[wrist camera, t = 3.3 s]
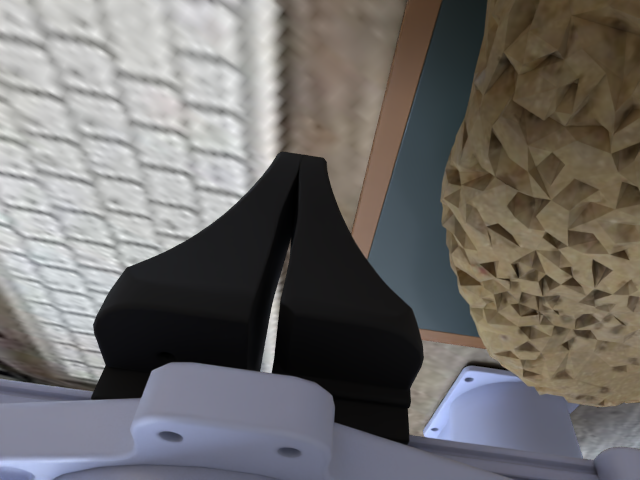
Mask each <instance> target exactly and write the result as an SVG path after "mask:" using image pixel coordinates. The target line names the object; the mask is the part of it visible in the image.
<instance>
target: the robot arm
mask: <svg viewBox="0 0 640 480" xmlns="http://www.w3.org/2000/svg"><path fill="white" fill-rule="evenodd" d="M290 240H291V250H290V260H289V265H288V270H287V274H286V279H285V283H284V288H283V292H282V297H281V301H280V310H279V320H278V329H277V338H276V347H275V356H274V363H273V369H272V373H265V372H260V369H261V363H262V357H263V352H264V346H265V340H266V335H267V329H268V324H269V318H270V313H271V307H272V303H273V299H274V295H275V291H276V288H277V285H278V281H279V278H280V274H281V271H282V267H283V264H284V261H285V257H286V254H287V250H288V247H289V243H290ZM93 327H94V334H95V337H96V340H97V342H98V345H99V348H100V351H101V353H102V356H103V359H104V362H105V364H106V366H105V368H104V370H103V373H102V375H101V377H100V379H99V381H98V383H97V385H96V388H95V390H94V392H92V391H84V390H77V389H70V388H62V387H55V386H48V385H41V384H33V383H26V382H19V381H11V380H4V379H0V480H640V449H636V448H629V447H614V448H609V449H606V450H604V451H603V452H601V453H600V454H599V455H598V456H597V457H596V458H595V459H594V460H588V459H583V456H582V453H581V450H580V446H579V443H578V440H577V437H576V434H575V431H574V428H573V424H572V421H571V418H570V415H569V414H570V413H571V412H572V411H574V410H575V409H576V408H577V407H578V406H579V405H580V404H574V403H568V401H566V399H565V398H564V397H562V396H556V395H550V394H543V395H539V393H538V392H537V391H536V389H535V387H530V386H527V385H526V384H525V383H524V382H523V381H522V380H521V379H520V378H519V377H518V376H517V375H515V374H514V373H512V372H511V371H508V370H501V369H494V368H487V367H480V366H467V367H465V368H464V369H463V370H462V372H461V373H460V375H459V376H458V378H457V379H456V381H455V382H454V384H453V385H452V387H451V388H450V390H449V392H448V393H447V395H446V396H445V398H444V399H443V401H442V402H441V404H440V405H439V407H438V408H437V410H436V412H435V413H434V415H433V416H432V418H431V419H430V421H429V422H428V424H427V425H426V427H425V428H424V430H423V433H424V436H425V437H420V436H413V435H409V423H408V408H409V407H410V404H411V397H410V387H411V385H412V383H413V382H414V380H415V378H416V376H417V374H418V372H419V370H420V368H421V366H422V363H423V359H424V356H423V345H422V340H421V335H420V331H419V328H418V324H417V321H416V318H415V315H414V312H413V309H412V308H411V307H410V306H409V305H408V304H407V303H405V302H404V301H403V300H402V299H401V298H400V297H399V296H398V295H397V294H396V293H395V292H394V291H393V290H392V289H391V288H390V287H389V286H388V285H387V284H386V283H385V282H384V281H383V280H382V278H381V277H380V276H379V275H378V273H377V272H376V271H375V269H374V268H373V267H372V266H371V264H370V263H369V262H368V260H367V259H366V258H365V256H364V255H363V253H362V252H361V250H360V248H359V247H358V245H357V244H356V242H355V240H354V239H353V237H352V235H351V233H350V231H349V230H348V228H347V226H346V224H345V221H344V219H343V217H342V215H341V213H340V210H339V208H338V205H337V202H336V200H335V197H334V194H333V191H332V188H331V185H330V181H329V177H328V172H327V162H326V161H325V159H324V158H321V157H314V156H308V155H301V154H295V153H288V152H280V153H279V154H277V156H276V158H275V159H274V161H273V162H272V164H271V165H270V167H269V168H268V169H267V171H266V172H265V173H264V174H263V176H262V177H261V178H260V179H259V180H258V181H257V182H256V184H255V185H254V186H253V187H252V188H251V189H250V190H249V191H248V192H247V193H246V194H245V195H244V196H243V197H242V198H241V199H240V200H239V201H238V202H237V203H236V204H235V205H234V206H233V207H232V208H231V209H230V210H228V211H227V212H226V213H225V214H224V215H222V216H221V217H220V218H219V219H217V220H216V221H215V222H213V223H212V224H211V225H209V226H208V227H206V228H205V229H204V230H202V231H201V232H199V233H198V234H196V235H195V236H193V237H191V238H190V239H188V240H186V241H185V242H183V243H181V244H179V245H177V246H175V247H174V248H172V249H170V250H168V251H166V252H164V253H161V254H159V255H157V256H155V257H152V258H150V259H147V260H145V261H142V262H140V263H138V264H135V265H133V266H130V267H127V268H126V269H125V271H124V272H123V274H122V275H121V276H120V278H119V279H118V280H117V282H116V283H115V284H114V286H113V287H112V289H111V290H110V292H109V293H108V295H107V297H106V299H105V301H104V303H103V305H102V307H101V309H100V310H99V312H98V314H97V316H96V319H95V321H94V324H93Z"/></svg>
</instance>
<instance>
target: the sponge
mask: <svg viewBox="0 0 640 480" xmlns="http://www.w3.org/2000/svg"><path fill="white" fill-rule="evenodd" d="M440 202H442V206H443V212H442V220H441V223H442V226H443V227H444V228H446V245H447V247H448V249H449V257H450V266H451V268H452V270H453V271H454V273H455V274H456V276H457V283H458V289H459V293H460V294H461V295H462V297H463V298H464V299H465V300H466V301H467V303H468V304H469V306H470V314H471V316H472V318H473V320H474V322H475V324H476V328H477V331H478V334H479V336H480V338H481V339H482V342H483V344H484V346H485V347H486V348H487V351H488V353H489V355H490V357H491V358H493V359H495V360H497V361H499V362H500V364H501V366H502V367H504V368H506V369H508V370H509V371H511V372H512V373H514V374H515V375H517V376H518V377H519V378H520V379H521V380H522V381H523V382H524V383H525V384H526V385H527V386H530V387H535V389H536V391H537V392H538V393H539V395H543V394H550V395H556V396H562V397H564V398H565V399H566V401H568V403H574V404H581V405H589V406H596V407H610V406H617V405H619V404H622V403H624V402H625V403H638V402H640V0H488V1H487V10H486V20H485V30H484V37H483V41H482V45H481V49H480V53H479V57H478V61H477V65H476V69H475V73H474V78H473V83H472V88H471V94H470V98H469V102H468V106H467V110H466V114H465V118H464V120H463V122H462V124H461V126H460V128H459V130H458V133H457V135H456V139H455V143H454V145H453V147H452V149H451V152H450V155H449V158H448V161H447V165H446V168H445V172H444V177H443V181H442V191H441V199H440Z"/></svg>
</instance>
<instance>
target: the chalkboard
mask: <svg viewBox="0 0 640 480" xmlns="http://www.w3.org/2000/svg"><path fill="white" fill-rule="evenodd" d="M487 1H488V0H407V4H406V8H405V12H404V16H403V21H402V25H401V29H400V33H399V37H398V41H397V45H396V50H395V54H394V58H393V62H392V66H391V70H390V75H389V79H388V83H387V87H386V91H385V95H384V100H383V104H382V108H381V112H380V116H379V120H378V124H377V129H376V133H375V137H374V141H373V145H372V149H371V154H370V158H369V162H368V166H367V170H366V174H365V178H364V183H363V187H362V191H361V195H360V199H359V203H358V208H357V212H356V216H355V220H354V224H353V228H352V233H351V235H352V237H353V239H354V240H355V242H356V244H357V245H358V247H359V248H360V250H361V252H362V253H363V255H364V256H365V258H366V259H367V260H368V262H369V263H370V264H371V266H372V267H373V268H374V269H375V271H376V272H377V273H378V275H379V276H380V277H381V278H382V280H383V281H384V282H385V283H386V284H387V285H388V286H389V287H390V288H391V289H392V290H393V291H394V292H395V293H396V294H397V295H398V296H399V297H400V298H401V299H402V300H403V301H404V302H405V303H407V304H408V305H409V306H410V307H411V308H412V309H413V312H414V315H415V318H416V321H417V324H418V328H419V331H420V335H421V340H426V341H433V342H440V343H447V344H454V345H461V346H468V347H475V348H482V349H487V348H486V347H485V346H484V344H483V342H482V339H481V338H480V336H479V334H478V331H477V328H476V324H475V322H474V320H473V318H472V316H471V314H470V306H469V304H468V303H467V301H466V300H465V299H464V298H463V297H462V295H461V294H460V293H459V289H458V283H457V276H456V274H455V273H454V271H453V270H452V268H451V266H450V257H449V249H448V247H447V245H446V228H444V227H443V226H442V223H441V220H442V212H443V206H442V202H440V199H441V191H442V181H443V177H444V172H445V168H446V165H447V161H448V158H449V155H450V152H451V149H452V147H453V145H454V143H455V139H456V135H457V133H458V130H459V128H460V126H461V124H462V122H463V120H464V118H465V114H466V110H467V106H468V102H469V98H470V94H471V88H472V83H473V78H474V73H475V69H476V65H477V61H478V57H479V53H480V49H481V45H482V41H483V37H484V30H485V20H486V10H487Z"/></svg>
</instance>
